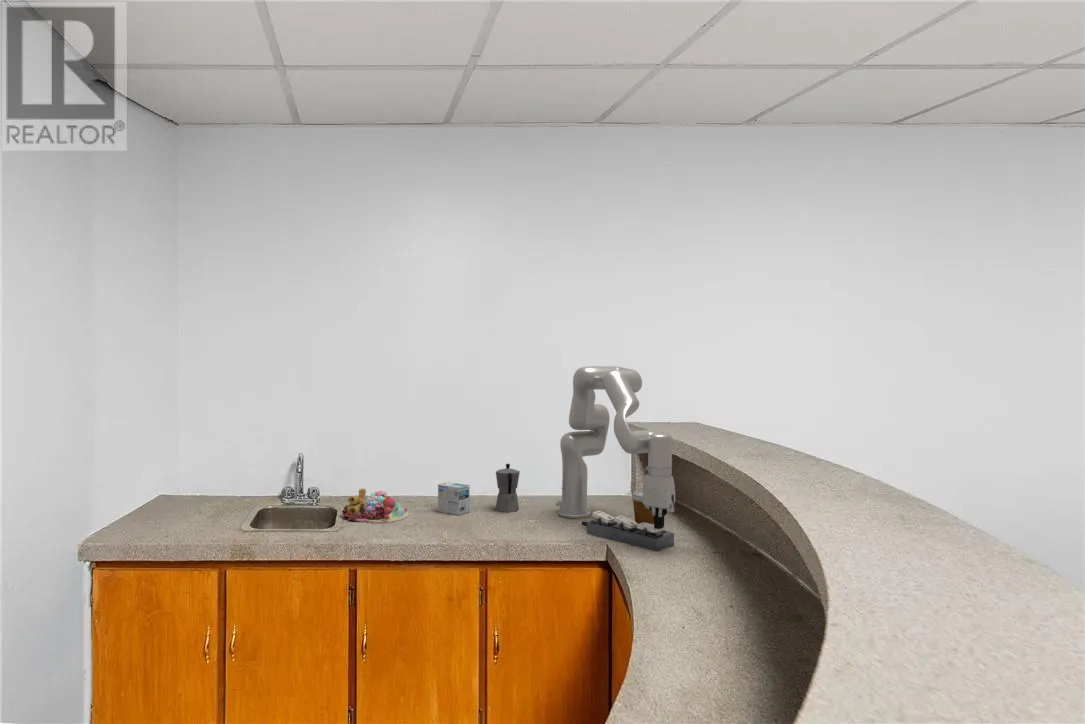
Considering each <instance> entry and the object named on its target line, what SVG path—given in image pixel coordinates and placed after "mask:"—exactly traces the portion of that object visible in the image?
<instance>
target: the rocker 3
mask: <svg viewBox="0 0 1085 724" xmlns="http://www.w3.org/2000/svg"><path fill="white" fill-rule="evenodd" d="M637 528H639V529H645V530H647V531H650V532H653V533H656V532H659V531H662V530H663V528H661V529H655V528H654V524H649V523H645V522H644V523H640V524H637Z"/></svg>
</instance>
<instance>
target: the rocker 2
mask: <svg viewBox="0 0 1085 724" xmlns="http://www.w3.org/2000/svg"><path fill="white" fill-rule="evenodd" d="M614 521H616V522H618V523H620V524H623V525H624V526H625V527H627V528H629V529H632V528H635V527H637V524H638V523H636V522H635V520H632V519H630V518H629V517H626V516H624V515H618V516H614Z"/></svg>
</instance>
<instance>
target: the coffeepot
mask: <svg viewBox="0 0 1085 724" xmlns="http://www.w3.org/2000/svg"><path fill="white" fill-rule="evenodd" d="M510 466H511V464H510V463H506V464H505V468H502V469H497V470H496V471H495V477H496V483H497V484H496V485H497V489H498V494H497V499H496V502H495V503H496V504H495V509H494V510H496V511H497V512H500V513H515V512H517V511H519V509H520V506H519V500H518V493H517V488H518V486H519V485H518V484H519V477H520V473H521V472H520V470H517V469H515V468H510Z"/></svg>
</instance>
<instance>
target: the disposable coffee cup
mask: <svg viewBox="0 0 1085 724" xmlns="http://www.w3.org/2000/svg"><path fill="white" fill-rule="evenodd" d="M631 498H632V504H633V516H634V522H636V523H638V524H640V523H644V522H645V523H649V524H653V525H654V516H653V515H652V512H651V510H650V509H648V508H646V507H645V505H644V504H643V490H642V491H641V490H639V491H633V492H632V495H631Z"/></svg>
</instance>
